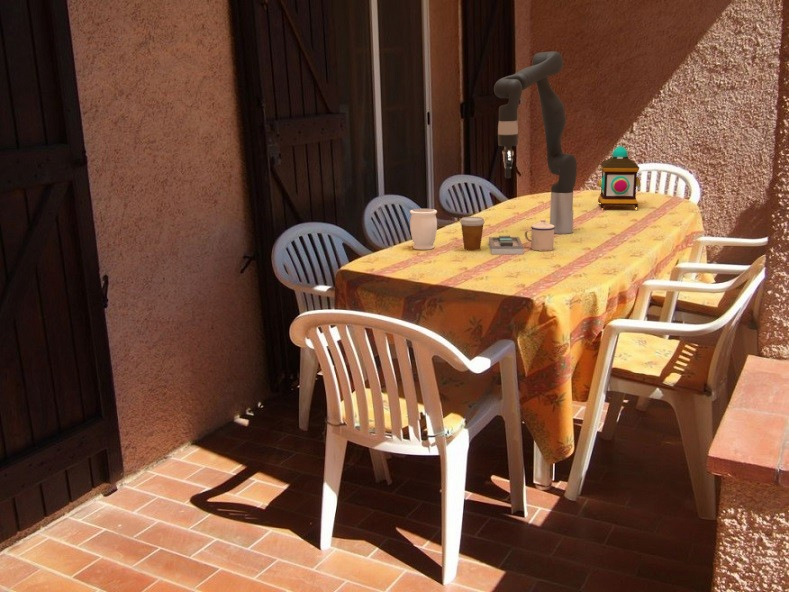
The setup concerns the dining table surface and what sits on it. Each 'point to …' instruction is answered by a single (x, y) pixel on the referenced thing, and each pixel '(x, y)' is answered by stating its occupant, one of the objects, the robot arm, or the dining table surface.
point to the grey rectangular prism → (504, 237)
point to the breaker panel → (499, 249)
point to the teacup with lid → (541, 236)
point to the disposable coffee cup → (472, 232)
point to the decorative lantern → (618, 180)
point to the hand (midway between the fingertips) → (507, 178)
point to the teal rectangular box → (505, 239)
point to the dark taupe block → (506, 243)
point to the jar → (423, 228)
